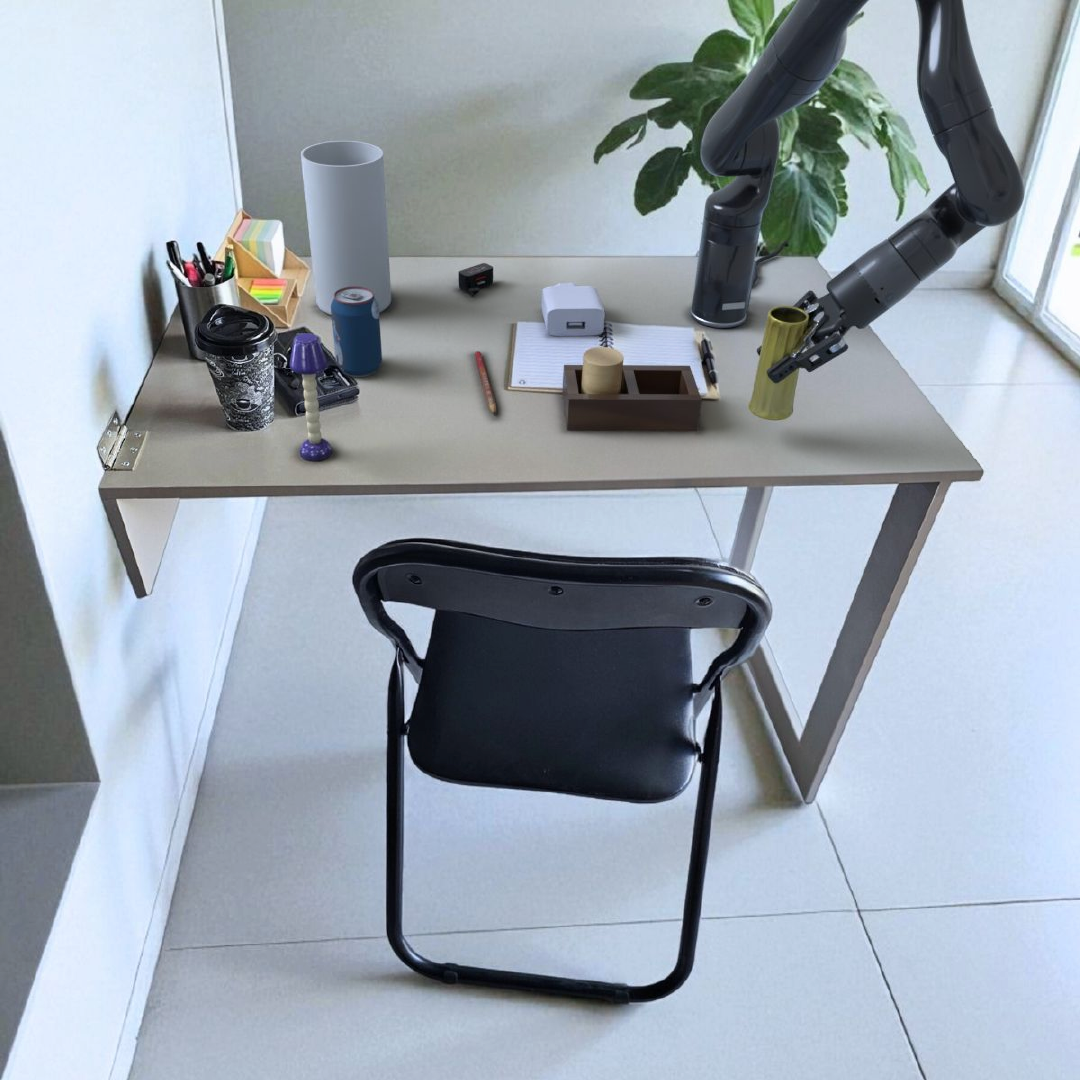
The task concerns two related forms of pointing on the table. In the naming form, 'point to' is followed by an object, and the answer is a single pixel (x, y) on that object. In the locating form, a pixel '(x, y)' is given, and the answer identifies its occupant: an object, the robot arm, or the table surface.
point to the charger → (572, 310)
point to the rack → (635, 400)
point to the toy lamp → (310, 392)
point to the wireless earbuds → (475, 278)
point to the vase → (776, 344)
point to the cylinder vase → (347, 219)
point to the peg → (602, 371)
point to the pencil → (485, 382)
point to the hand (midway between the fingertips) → (765, 367)
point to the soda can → (356, 331)
